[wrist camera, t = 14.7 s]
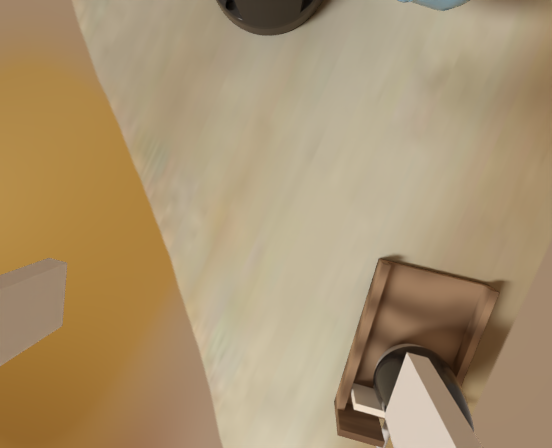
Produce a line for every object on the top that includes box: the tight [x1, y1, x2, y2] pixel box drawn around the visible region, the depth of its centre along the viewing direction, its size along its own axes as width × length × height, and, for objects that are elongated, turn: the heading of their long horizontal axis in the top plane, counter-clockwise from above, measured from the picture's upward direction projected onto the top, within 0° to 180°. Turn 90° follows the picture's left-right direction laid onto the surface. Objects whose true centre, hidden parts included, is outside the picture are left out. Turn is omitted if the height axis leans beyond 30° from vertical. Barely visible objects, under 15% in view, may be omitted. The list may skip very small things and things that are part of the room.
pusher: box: [351, 383, 390, 448], centre depth 43 cm, size 8×12×4 cm, turn 77°
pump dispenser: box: [373, 344, 474, 432], centre depth 36 cm, size 10×10×15 cm
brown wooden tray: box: [334, 259, 499, 448], centre depth 41 cm, size 24×15×6 cm, turn 167°
